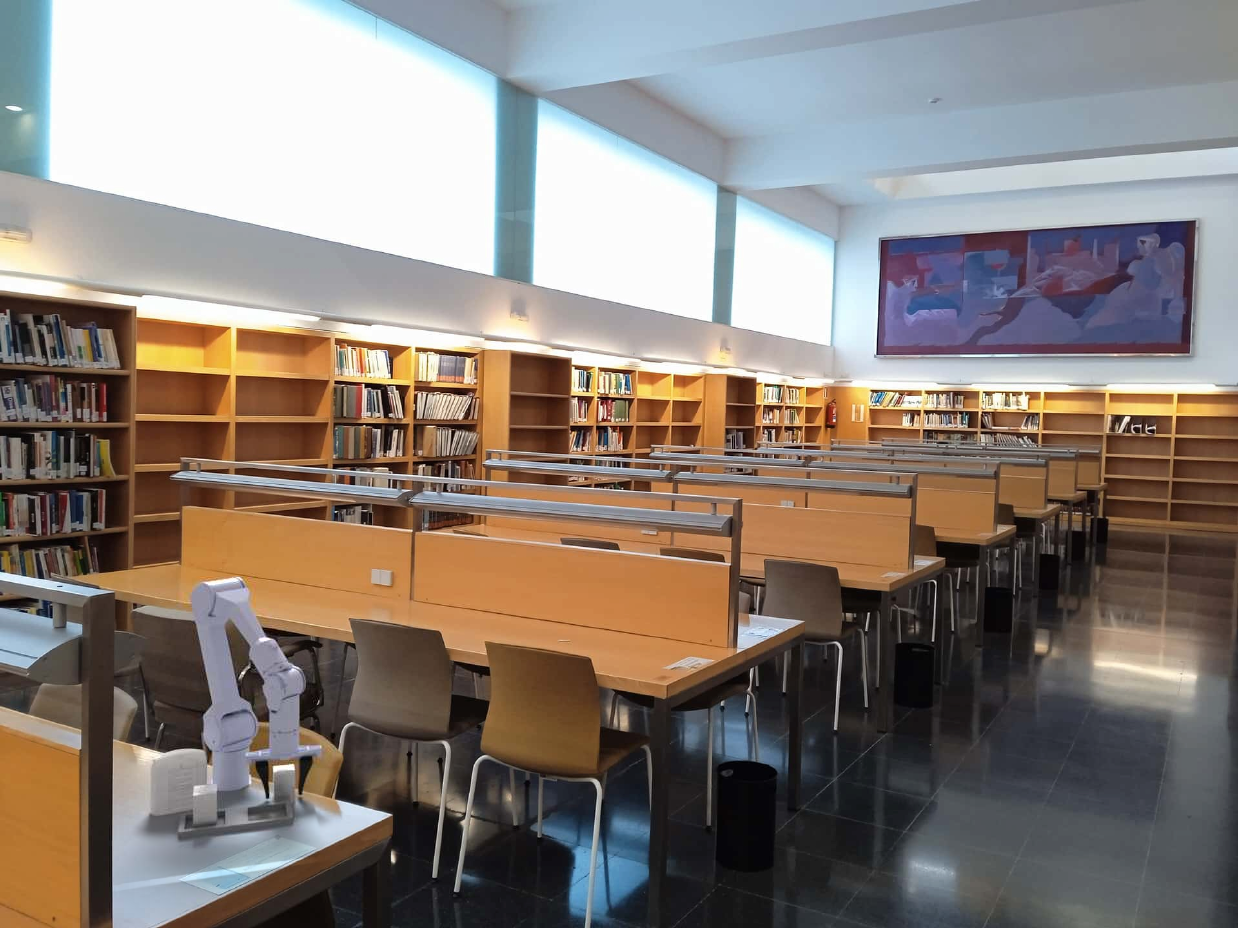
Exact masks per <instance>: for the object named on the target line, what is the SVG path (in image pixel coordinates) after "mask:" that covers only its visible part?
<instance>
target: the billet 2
mask: <svg viewBox="0 0 1238 928" xmlns="http://www.w3.org/2000/svg"><path fill="white" fill-rule="evenodd" d="M272 769H273V770H272V799H273V800H272V801H273V803H276V802H284V801H291V804H295V803H296V770H295V765H294V763H293V764H285V765H274V766H272Z"/></svg>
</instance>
